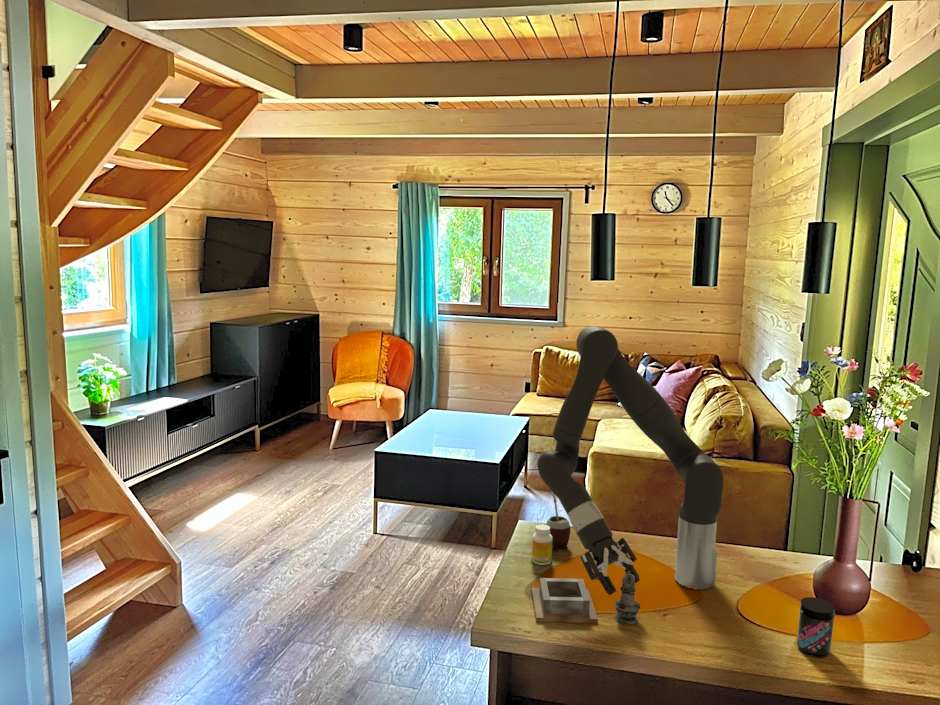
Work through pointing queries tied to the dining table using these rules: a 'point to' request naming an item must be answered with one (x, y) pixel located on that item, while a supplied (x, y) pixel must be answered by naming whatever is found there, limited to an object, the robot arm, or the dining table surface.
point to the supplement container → (815, 626)
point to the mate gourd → (559, 529)
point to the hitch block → (563, 601)
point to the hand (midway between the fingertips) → (625, 587)
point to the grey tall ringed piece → (627, 602)
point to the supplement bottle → (542, 545)
